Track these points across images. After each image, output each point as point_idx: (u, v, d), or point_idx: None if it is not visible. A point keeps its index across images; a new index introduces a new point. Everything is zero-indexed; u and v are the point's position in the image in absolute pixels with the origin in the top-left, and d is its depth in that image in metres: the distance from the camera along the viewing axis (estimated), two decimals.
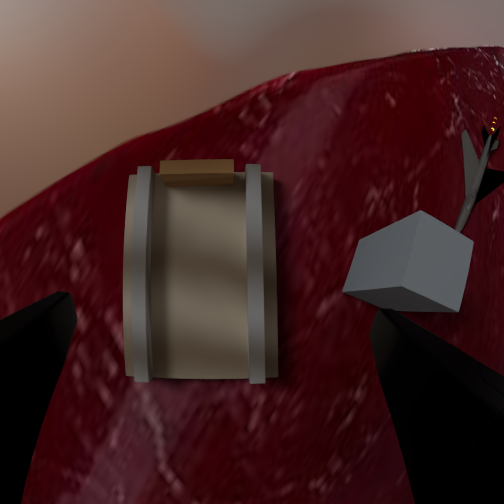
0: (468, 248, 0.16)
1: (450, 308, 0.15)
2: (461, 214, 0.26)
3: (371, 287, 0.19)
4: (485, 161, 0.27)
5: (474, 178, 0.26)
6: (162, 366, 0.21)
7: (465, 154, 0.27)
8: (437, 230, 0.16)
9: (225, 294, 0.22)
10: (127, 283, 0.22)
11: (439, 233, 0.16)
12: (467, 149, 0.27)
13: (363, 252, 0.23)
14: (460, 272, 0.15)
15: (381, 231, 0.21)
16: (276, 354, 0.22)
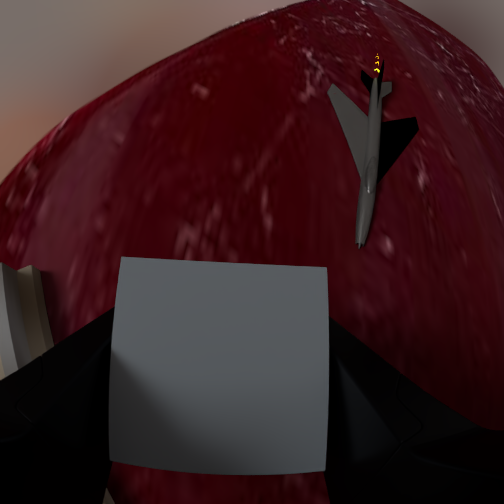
0: (313, 293, 0.07)
1: (292, 472, 0.05)
2: (359, 205, 0.18)
3: None
4: (377, 112, 0.20)
5: (366, 142, 0.19)
6: None
7: (341, 115, 0.20)
8: (182, 289, 0.06)
9: None
10: None
11: (191, 294, 0.06)
12: (342, 108, 0.21)
13: None
14: (297, 372, 0.06)
15: None
16: None
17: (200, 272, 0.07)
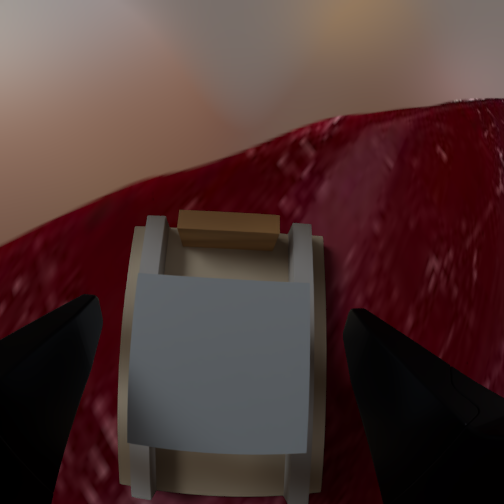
0: (298, 304, 0.08)
1: (279, 453, 0.07)
2: None
3: None
4: None
5: None
6: (169, 478, 0.13)
7: None
8: (189, 300, 0.08)
9: None
10: (124, 371, 0.15)
11: (197, 305, 0.08)
12: None
13: None
14: (282, 369, 0.07)
15: None
16: (320, 466, 0.14)
17: (204, 286, 0.08)
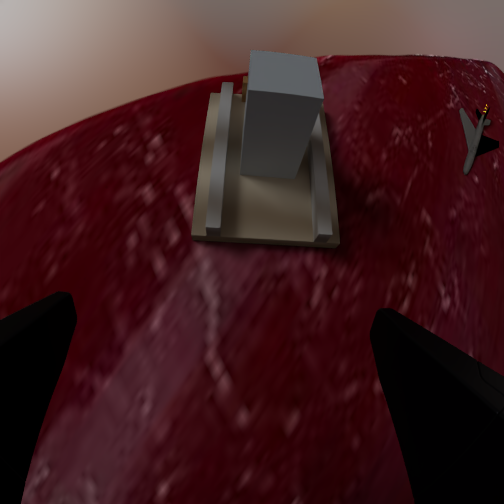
0: (312, 61, 0.18)
1: (312, 97, 0.17)
2: (466, 159, 0.30)
3: (243, 131, 0.20)
4: (480, 129, 0.32)
5: (473, 138, 0.31)
6: (231, 226, 0.23)
7: (464, 123, 0.32)
8: (272, 56, 0.18)
9: None
10: (204, 158, 0.25)
11: (275, 57, 0.18)
12: (464, 120, 0.33)
13: None
14: (309, 75, 0.17)
15: None
16: (337, 223, 0.24)
17: (277, 54, 0.18)
